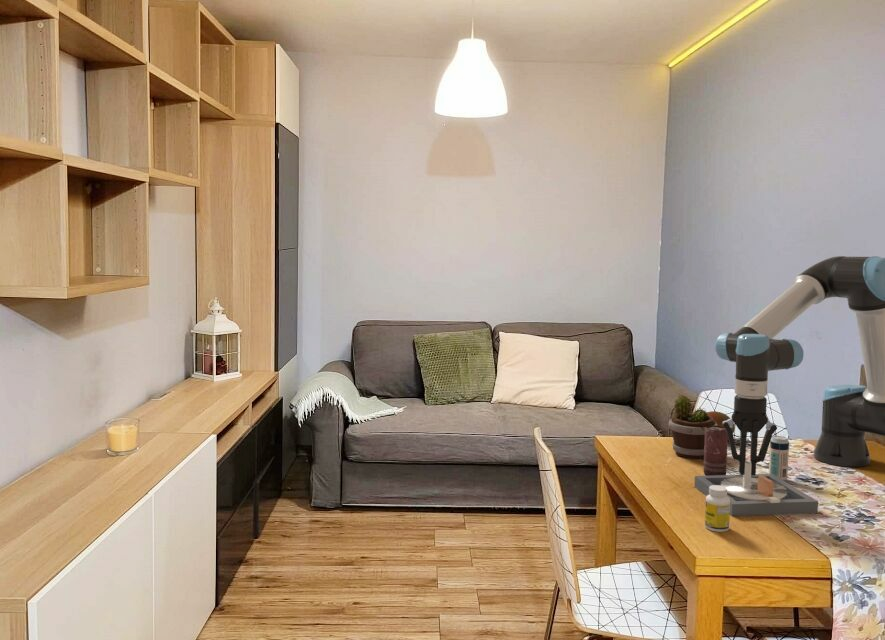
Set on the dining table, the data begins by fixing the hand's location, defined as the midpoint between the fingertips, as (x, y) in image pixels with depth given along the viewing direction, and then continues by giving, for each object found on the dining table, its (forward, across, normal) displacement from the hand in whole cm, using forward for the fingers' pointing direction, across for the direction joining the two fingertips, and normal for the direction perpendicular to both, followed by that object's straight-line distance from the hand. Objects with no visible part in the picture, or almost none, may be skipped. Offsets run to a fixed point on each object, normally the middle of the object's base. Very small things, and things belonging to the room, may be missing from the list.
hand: (746, 486), depth 190 cm
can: (+5, -6, +24) cm, 25 cm away
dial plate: (+5, +2, +5) cm, 7 cm away
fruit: (+5, -2, +64) cm, 64 cm away
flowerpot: (+5, -11, +44) cm, 46 cm away
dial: (+4, +2, +5) cm, 7 cm away
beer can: (+5, +11, +24) cm, 27 cm away
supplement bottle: (+5, -8, -18) cm, 20 cm away
